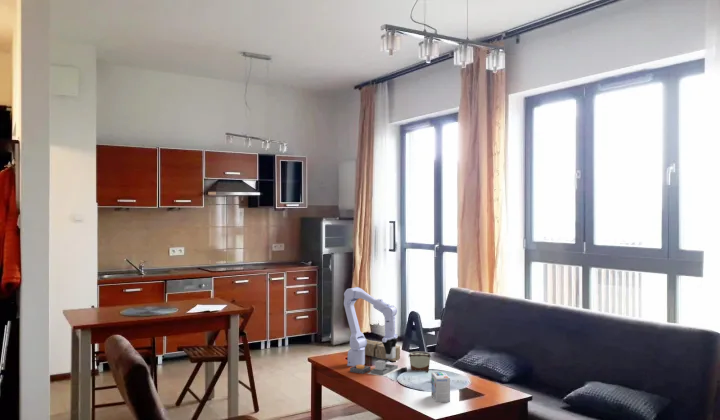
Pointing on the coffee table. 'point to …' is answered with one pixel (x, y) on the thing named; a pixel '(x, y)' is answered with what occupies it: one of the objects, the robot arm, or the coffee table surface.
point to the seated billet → (380, 365)
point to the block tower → (379, 350)
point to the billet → (392, 353)
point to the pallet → (388, 370)
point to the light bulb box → (440, 387)
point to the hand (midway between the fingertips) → (390, 353)
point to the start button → (360, 366)
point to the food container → (419, 360)
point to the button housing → (362, 371)
